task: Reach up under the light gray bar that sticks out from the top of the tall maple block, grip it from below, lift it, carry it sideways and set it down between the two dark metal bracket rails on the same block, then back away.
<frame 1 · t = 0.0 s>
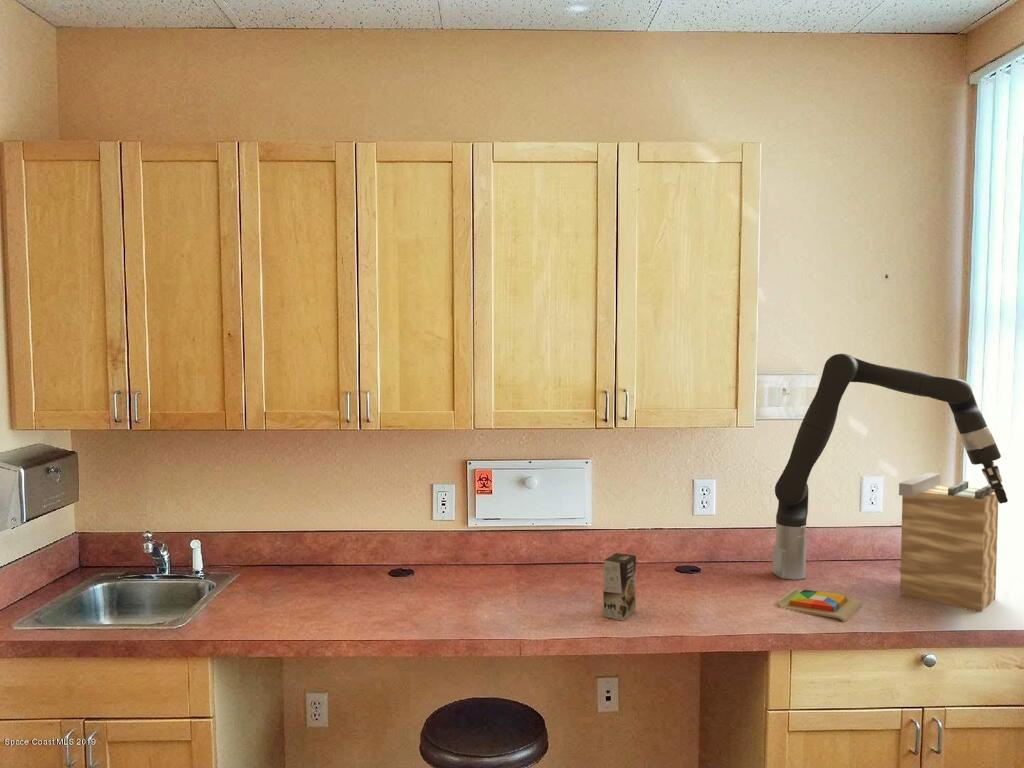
hand: (1003, 499, 200), 31 cm above the worktop, tool tilted 20°, fingers open, 8 cm apart
wooden puzzle: (819, 608, 205), on the worktop
coffee box: (619, 614, 199), on the worktop
maple block: (947, 596, 212), on the worktop
light gray bar: (920, 489, 212), point 32 cm above the worktop, touching maple block
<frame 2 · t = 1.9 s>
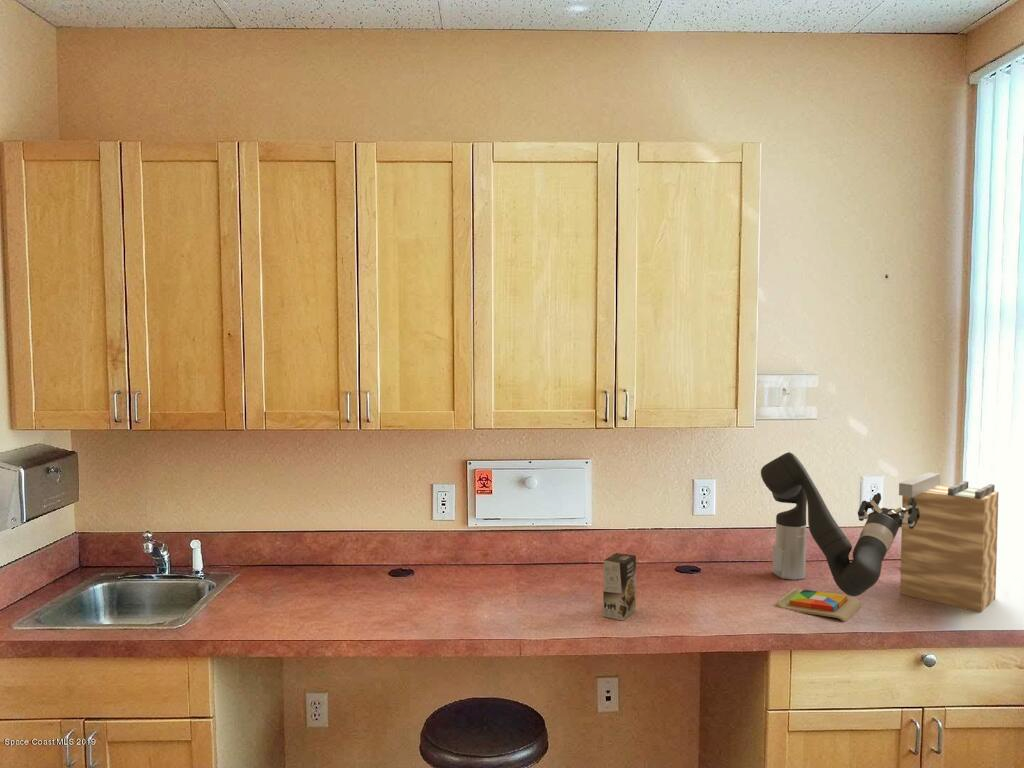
hand: (895, 497, 196), 33 cm above the worktop, tool pointing upward, fingers open, 8 cm apart
nothing on the worktop moved.
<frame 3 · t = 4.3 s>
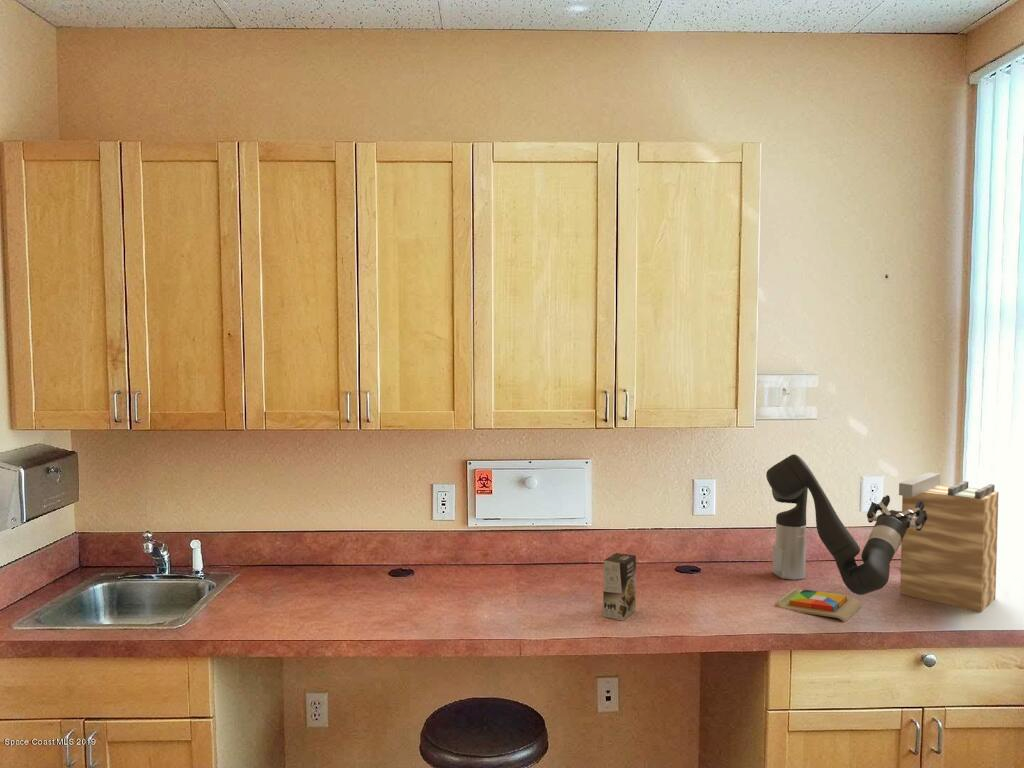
hand: (904, 499, 203), 31 cm above the worktop, tool pointing upward, fingers open, 8 cm apart
nothing on the worktop moved.
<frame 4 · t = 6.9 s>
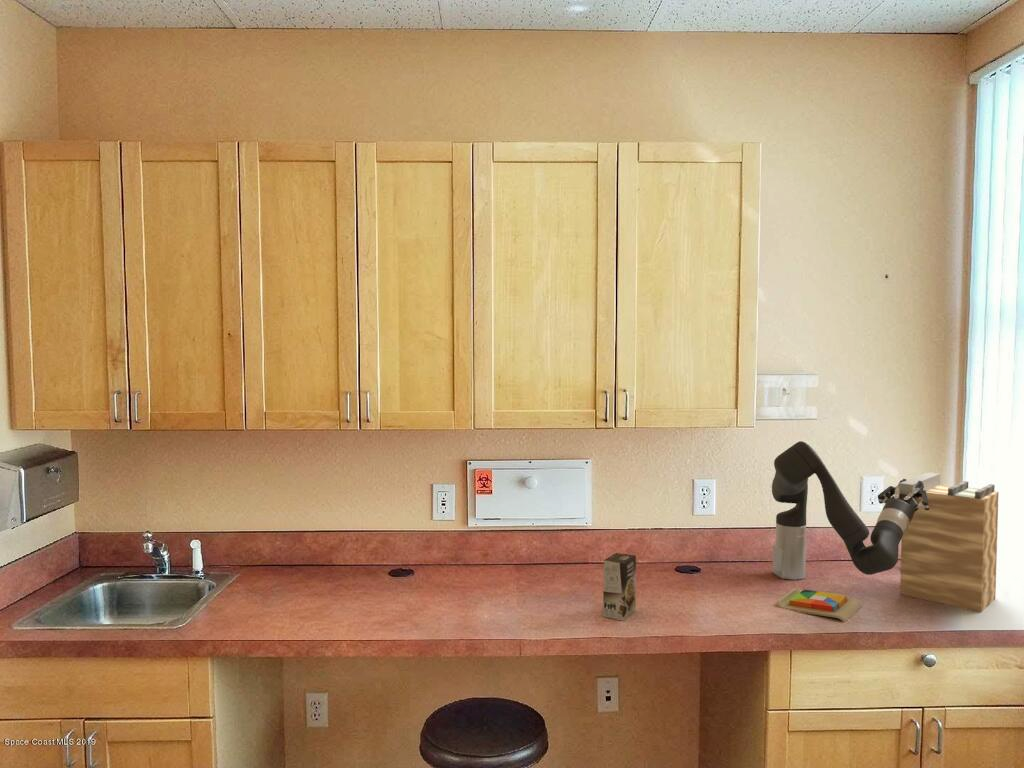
hand: (912, 482, 207), 35 cm above the worktop, tool pointing upward, fingers closed on light gray bar, 3 cm apart
light gray bar: (920, 489, 212), point 32 cm above the worktop, touching gripper, maple block
everything else where it was.
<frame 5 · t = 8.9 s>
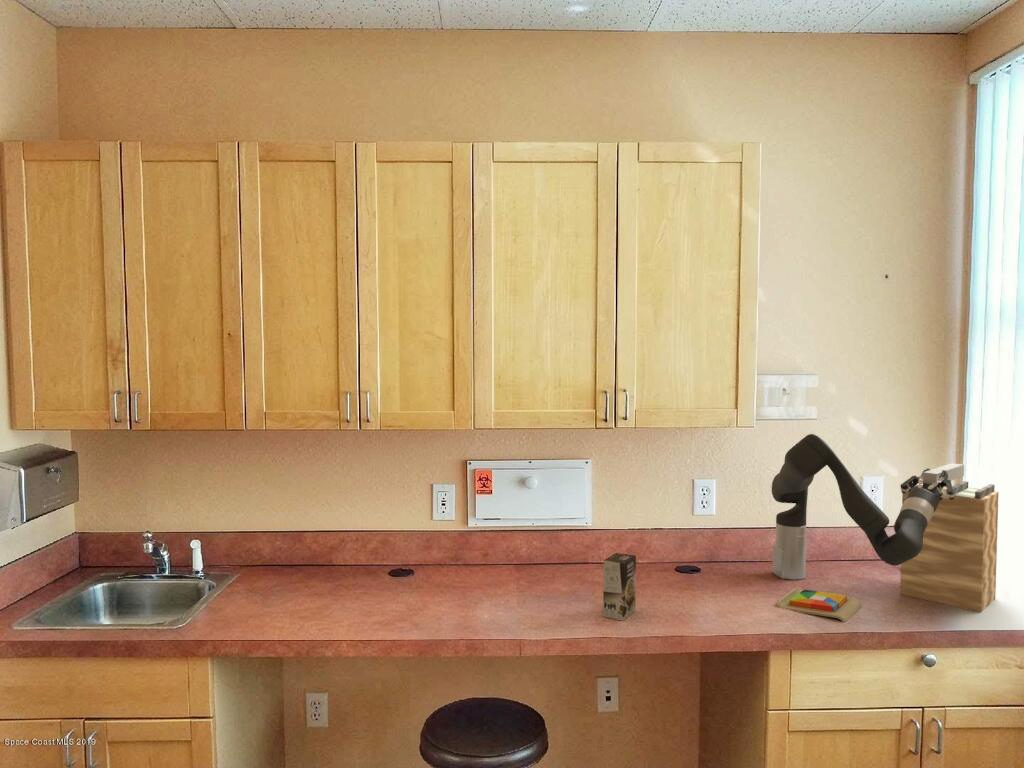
hand: (936, 471, 202), 39 cm above the worktop, tool pointing upward, fingers closed on light gray bar, 3 cm apart
light gray bar: (943, 480, 207), point 36 cm above the worktop, touching gripper
everything else where it was.
when the fingers open (36 cm above the worktop, at t = 10.9 s): light gray bar stays where it is, resting on maple block.
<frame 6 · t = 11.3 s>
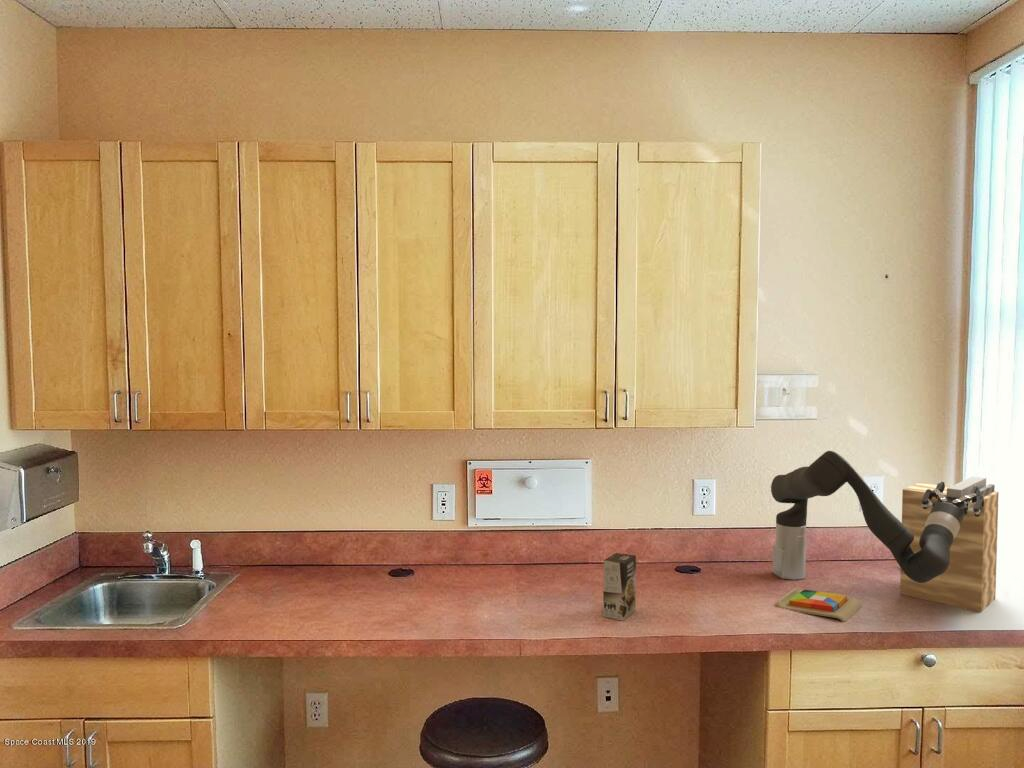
hand: (959, 486, 198), 36 cm above the worktop, tool pointing upward, fingers open, 7 cm apart
light gray bar: (966, 495, 204), point 32 cm above the worktop, touching maple block
everything else where it was.
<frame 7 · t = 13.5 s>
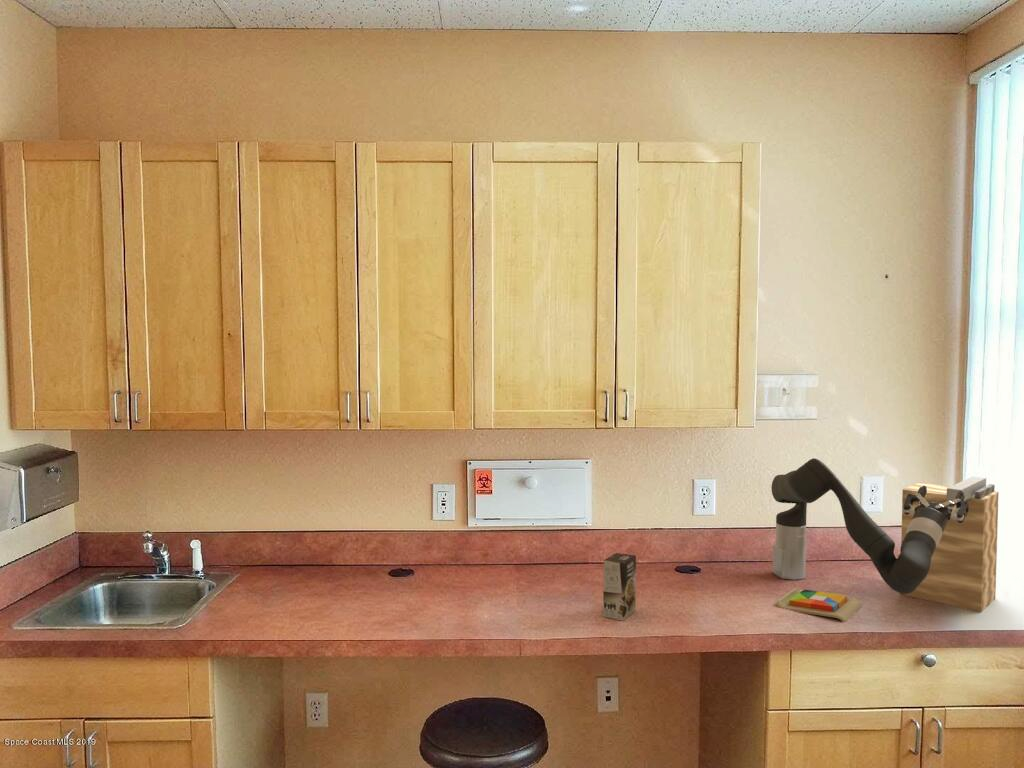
hand: (942, 490, 190), 36 cm above the worktop, tool pointing upward, fingers open, 8 cm apart
nothing on the worktop moved.
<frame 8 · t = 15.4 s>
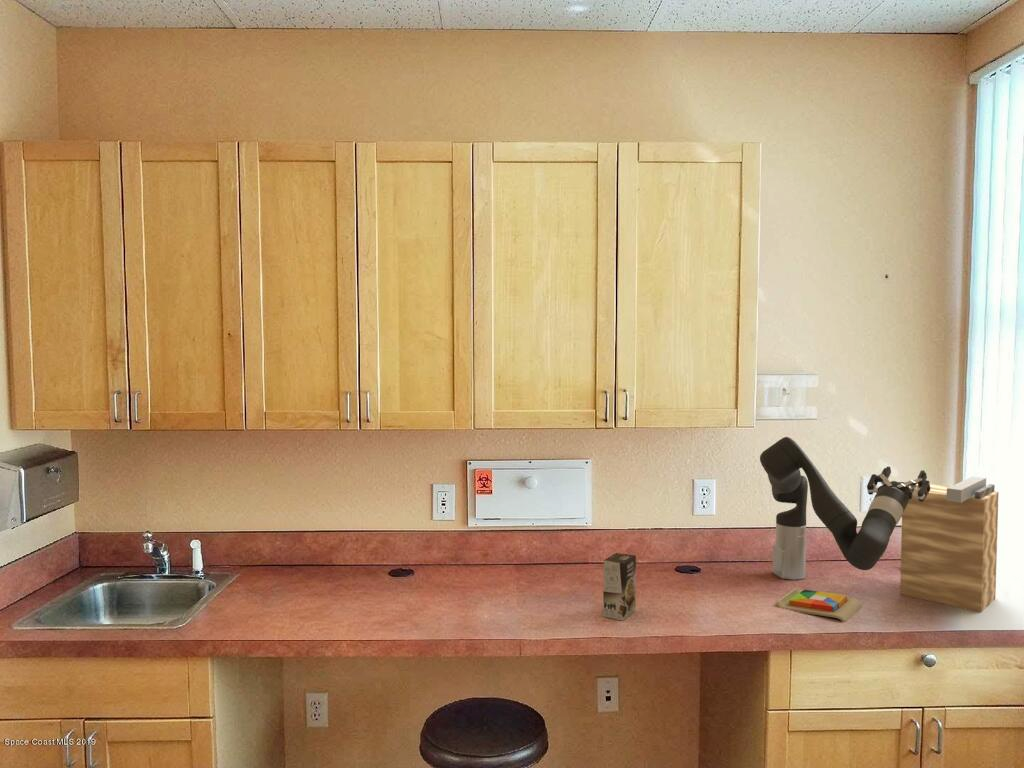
hand: (906, 470, 193), 41 cm above the worktop, tool pointing upward, fingers open, 8 cm apart
nothing on the worktop moved.
at the end: light gray bar inside the target area (0.1 cm from its centre), point 32.2 cm above the worktop; the gripper is holding nothing; light gray bar moved 12.1 cm from its start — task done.
